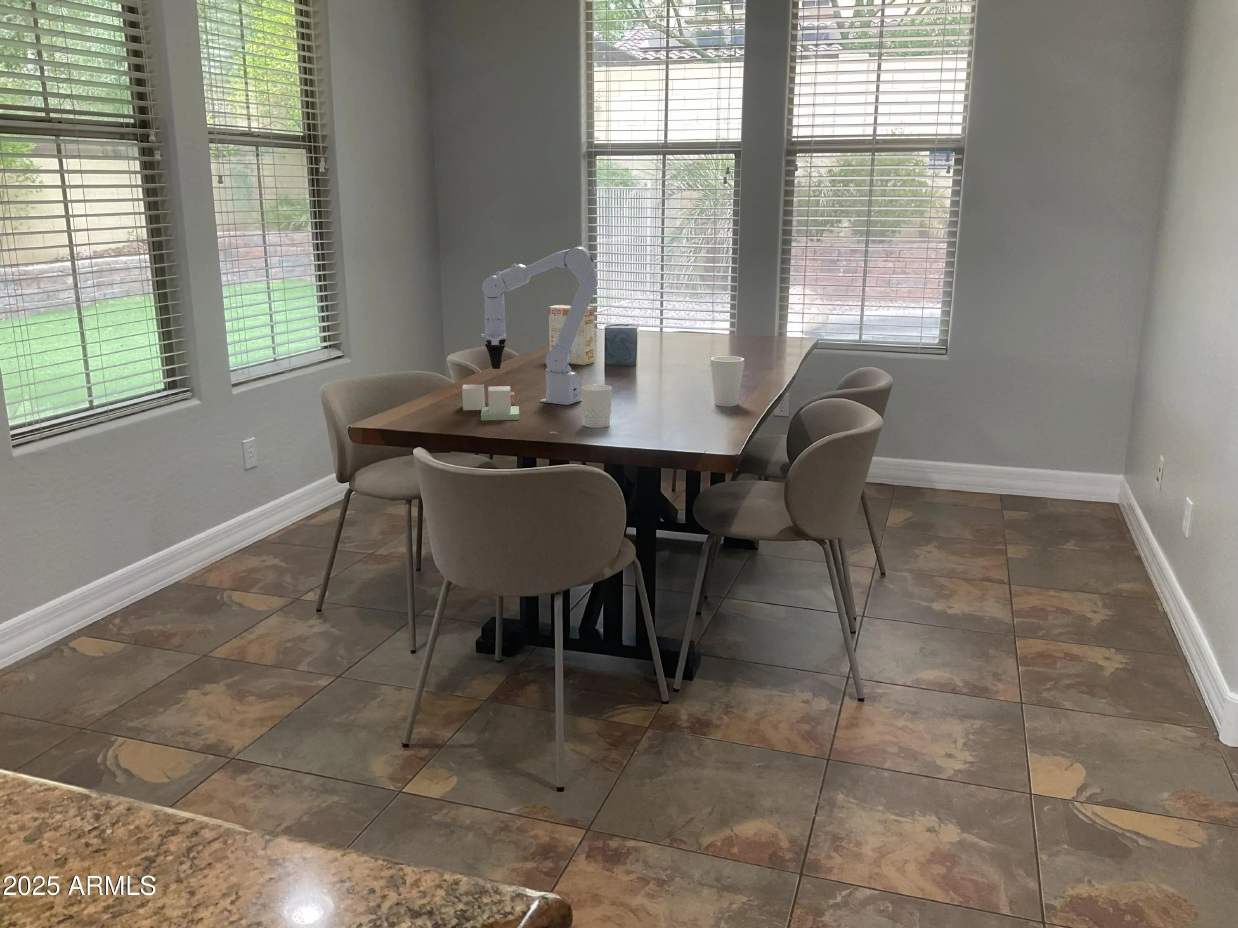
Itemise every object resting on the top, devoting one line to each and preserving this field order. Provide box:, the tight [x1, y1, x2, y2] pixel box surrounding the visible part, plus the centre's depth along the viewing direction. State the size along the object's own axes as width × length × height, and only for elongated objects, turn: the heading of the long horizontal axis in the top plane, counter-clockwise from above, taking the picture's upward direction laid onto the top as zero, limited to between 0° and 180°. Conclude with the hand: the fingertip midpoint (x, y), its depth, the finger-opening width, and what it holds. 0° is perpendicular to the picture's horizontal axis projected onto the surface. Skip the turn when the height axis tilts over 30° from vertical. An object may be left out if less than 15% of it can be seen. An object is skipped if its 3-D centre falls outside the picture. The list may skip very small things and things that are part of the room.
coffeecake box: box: [548, 304, 596, 366], centre depth 350 cm, size 15×7×20 cm, turn 58°
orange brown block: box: [510, 391, 516, 406], centre depth 280 cm, size 4×4×4 cm
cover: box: [461, 384, 486, 411], centre depth 279 cm, size 6×6×6 cm
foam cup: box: [709, 355, 745, 407], centre depth 283 cm, size 10×9×13 cm
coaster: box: [480, 405, 520, 421], centre depth 269 cm, size 10×10×2 cm
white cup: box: [580, 384, 613, 429], centre depth 258 cm, size 8×8×10 cm
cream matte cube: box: [487, 385, 511, 413], centre depth 268 cm, size 6×6×6 cm
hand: (496, 366), depth 287 cm, fingers open, 7 cm apart
